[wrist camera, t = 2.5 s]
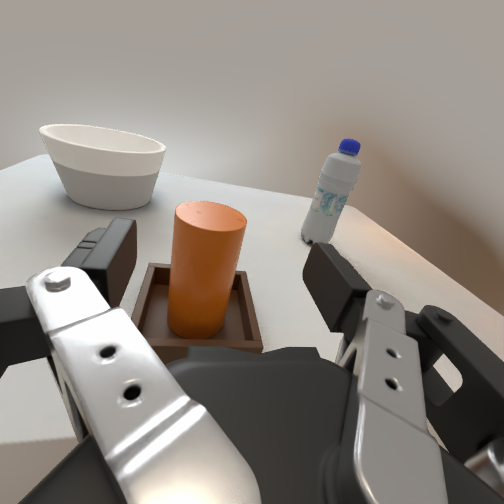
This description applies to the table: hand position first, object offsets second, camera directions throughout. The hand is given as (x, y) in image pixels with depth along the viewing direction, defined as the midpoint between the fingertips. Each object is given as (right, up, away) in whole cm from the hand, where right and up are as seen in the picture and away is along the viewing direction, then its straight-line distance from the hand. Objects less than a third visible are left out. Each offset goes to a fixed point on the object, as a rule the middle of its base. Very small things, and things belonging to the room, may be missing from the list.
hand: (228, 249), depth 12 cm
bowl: (-27, +11, +38) cm, 48 cm away
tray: (-5, -7, +16) cm, 18 cm away
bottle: (+14, +2, +41) cm, 44 cm away
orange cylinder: (-5, -7, +16) cm, 18 cm away
